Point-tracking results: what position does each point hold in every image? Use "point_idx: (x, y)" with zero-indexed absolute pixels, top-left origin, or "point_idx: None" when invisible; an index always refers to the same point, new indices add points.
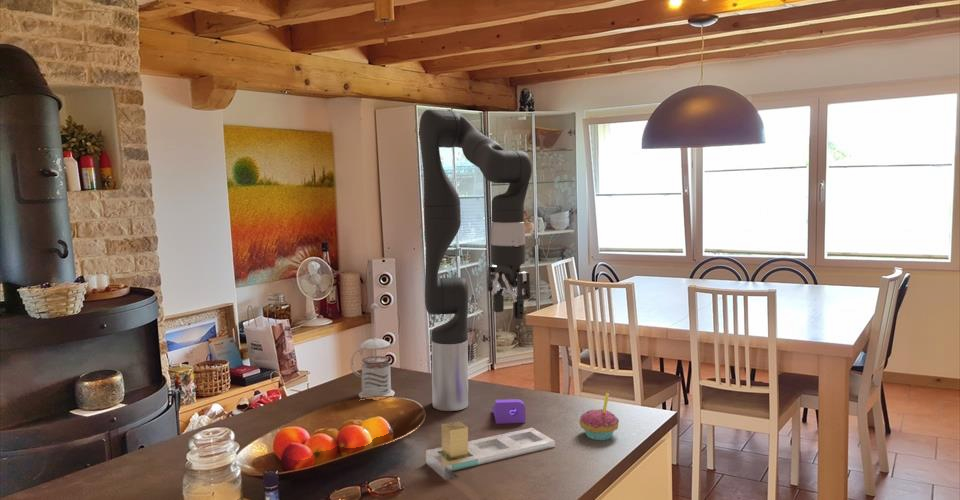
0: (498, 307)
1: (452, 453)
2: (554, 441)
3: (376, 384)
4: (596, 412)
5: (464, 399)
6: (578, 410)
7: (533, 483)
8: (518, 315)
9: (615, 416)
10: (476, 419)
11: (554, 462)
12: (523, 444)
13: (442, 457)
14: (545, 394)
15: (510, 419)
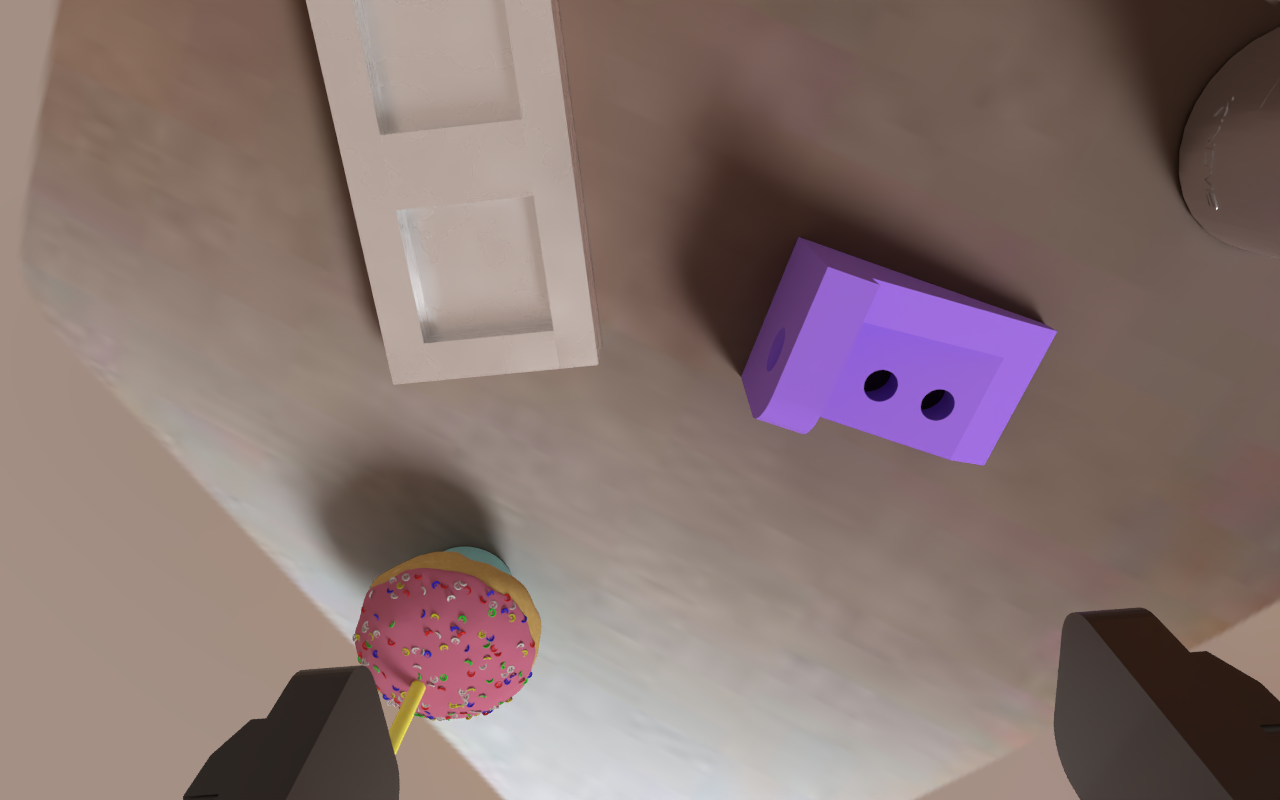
0: (1105, 728)
1: None
2: (393, 380)
3: None
4: (427, 657)
5: (1219, 205)
6: (837, 686)
7: (124, 122)
8: (228, 754)
9: (416, 714)
10: (992, 198)
11: (317, 315)
12: (472, 248)
13: None
14: None
15: (775, 321)
